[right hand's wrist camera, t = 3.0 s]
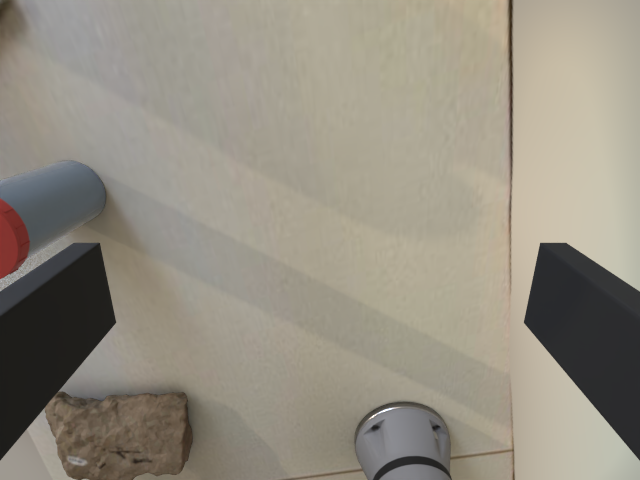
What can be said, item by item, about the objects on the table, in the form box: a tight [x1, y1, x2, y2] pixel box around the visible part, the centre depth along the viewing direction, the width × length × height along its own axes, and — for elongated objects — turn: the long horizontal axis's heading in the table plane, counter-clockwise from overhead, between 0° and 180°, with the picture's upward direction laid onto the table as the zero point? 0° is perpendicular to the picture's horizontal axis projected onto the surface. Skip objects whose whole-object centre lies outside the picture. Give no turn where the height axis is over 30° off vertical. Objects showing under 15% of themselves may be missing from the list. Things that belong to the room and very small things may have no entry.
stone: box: [45, 392, 192, 480], centre depth 64 cm, size 21×15×6 cm
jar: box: [0, 161, 106, 259], centre depth 45 cm, size 8×8×17 cm
